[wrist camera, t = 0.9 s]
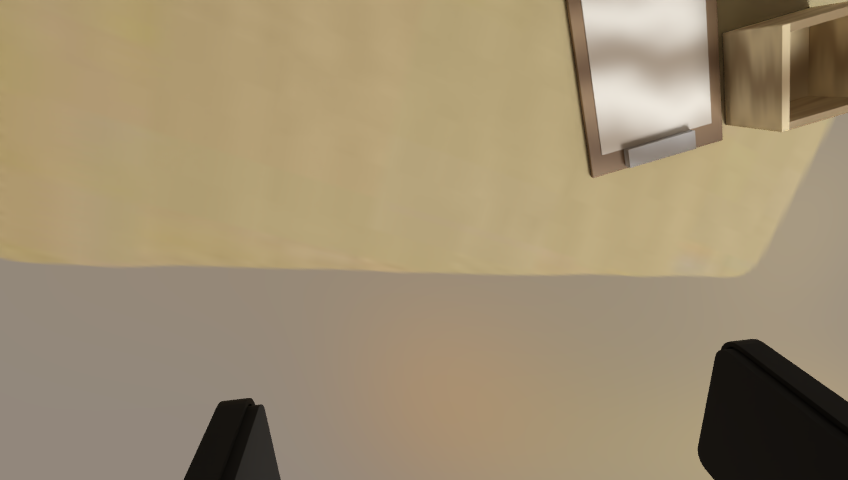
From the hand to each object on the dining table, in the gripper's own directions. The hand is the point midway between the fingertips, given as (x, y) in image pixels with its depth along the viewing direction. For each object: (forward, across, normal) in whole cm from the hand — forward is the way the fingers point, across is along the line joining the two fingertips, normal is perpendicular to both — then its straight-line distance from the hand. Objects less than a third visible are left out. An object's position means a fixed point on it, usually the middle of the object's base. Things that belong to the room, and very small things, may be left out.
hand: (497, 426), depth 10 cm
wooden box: (+32, -32, -5) cm, 45 cm away
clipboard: (+32, -21, -6) cm, 39 cm away
